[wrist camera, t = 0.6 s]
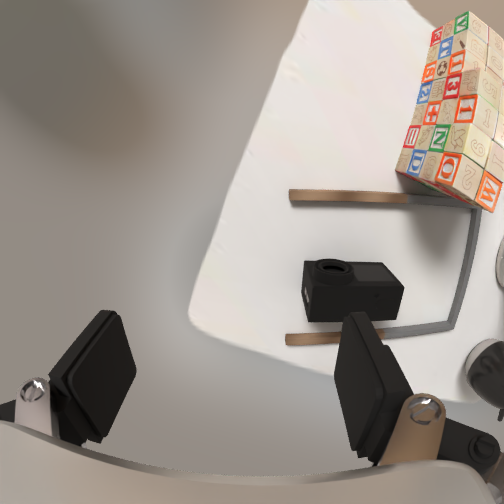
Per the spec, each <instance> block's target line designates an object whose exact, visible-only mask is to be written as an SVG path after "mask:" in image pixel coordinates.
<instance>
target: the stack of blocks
mask: <svg viewBox="0 0 504 504" xmlns="http://www.w3.org/2000/svg"><path fill="white" fill-rule="evenodd" d="M503 81H504V40H503V39H502V38H501V37H500V36H499V35H498V34H497V33H496V32H494V30H492V29H491V28H490V27H488V26H487V25H486V24H485V23H484V22H482V21H481V20H480V19H479V18H478V17H476V16H475V15H474V14H473V13H471V12H470V11H468V12H465V13H464V14H461V15H460V16H458V17H456V18H455V19H454V20H452V21H450V22H448V23H446V24H444V26H442V27H440V28H438V29H436V30H434V31H433V32H432V38H431V45H430V48H429V51H428V56H427V61H426V66H425V69H424V73H423V77H422V81H421V84H422V85H421V88H420V92H419V96H418V99H417V105H416V107H415V111H414V114H413V118H412V121H411V125H410V126H409V129H408V133H407V136H406V139H405V142H404V145H403V148H402V151H401V154H400V157H399V159H398V162H397V165H396V168H395V171H397V172H399V173H401V174H403V175H405V176H407V177H409V178H411V179H413V180H416V181H418V182H419V183H421V184H423V185H425V186H427V187H429V188H430V189H432V190H435V191H437V192H440V193H443V194H446V195H449V196H451V197H454V198H456V199H459V200H461V201H463V202H466V203H468V204H471V205H473V206H477V207H479V208H482V209H484V210H486V211H489V212H491V213H493V212H494V209H495V206H496V203H497V200H498V197H499V194H500V191H501V188H502V183H504V87H503Z"/></svg>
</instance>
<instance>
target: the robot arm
mask: <svg viewBox="0 0 504 504" xmlns="http://www.w3.org/2000/svg"><path fill="white" fill-rule="evenodd" d="M496 272H497V278H498V281H499V283H500V285H501V286H502V287H503V288H504V238H503V240H502V243H501V246H500V249H499V252H498V257H497V264H496ZM48 375H49V377H50V381H49V382H47V380H45V379H43V378H39V377H38V378H32V379H29V380H27V381H25V382H24V383H23V384H22V385H20V387H19V389H18V391H17V396H16V400H13V401H10V402H7V403H4V404H1V405H0V504H504V452H503V453H502V452H501V451H500V447H499V443H498V441H497V440H496V439H495V438H494V437H493V436H492V435H490V434H488V433H485V432H483V431H480V430H477V429H474V428H472V427H469V426H466V425H464V424H461V423H459V422H456V421H453V420H451V419H448V418H446V409H445V406H444V404H443V403H442V402H441V401H440V400H439V399H438V398H436V397H435V396H433V395H430V394H424V393H420V394H415V395H414V394H413V391H412V389H411V387H410V385H409V383H408V381H407V380H406V378H405V376H404V374H403V372H402V370H401V368H400V366H399V364H398V362H397V360H396V358H395V356H394V355H393V353H392V351H391V349H390V347H389V346H388V345H383V343H382V341H381V339H380V337H379V336H378V334H377V332H376V330H375V328H374V326H373V324H372V323H371V321H370V319H369V317H368V315H367V314H366V312H351V313H349V315H348V317H344V319H343V325H342V332H341V338H340V344H339V349H338V355H337V360H336V366H335V371H334V380H335V384H336V388H337V392H338V396H339V400H340V404H341V408H342V412H343V416H344V420H345V424H346V429H347V432H348V437H349V442H350V446H351V449H352V451H357V455H358V458H362V457H368V460H369V461H371V462H373V463H372V465H371V467H369V468H363V469H356V470H349V471H341V472H333V473H323V474H311V475H297V476H269V477H268V476H267V477H266V476H265V477H264V476H231V475H216V474H205V473H195V472H188V471H181V470H174V469H167V468H162V467H156V466H151V465H146V464H141V463H137V462H133V461H128V460H124V459H120V458H116V457H113V456H108V455H105V454H101V453H98V452H95V451H92V450H89V449H87V448H86V443H85V442H86V440H87V439H88V440H90V441H93V442H96V443H101V441H102V439H103V437H106V436H107V435H108V433H109V431H110V429H111V427H112V424H113V422H114V420H115V418H116V416H117V414H118V411H119V409H120V407H121V405H122V403H123V401H124V399H125V397H126V394H127V392H128V390H129V388H130V386H131V384H132V382H133V380H134V378H135V375H136V365H135V362H134V360H133V357H132V354H131V350H130V347H129V344H128V340H127V337H126V334H125V330H124V327H123V324H122V320H121V317H120V316H119V315H117V313H116V312H115V311H110V310H109V311H108V310H101V311H100V312H99V313H98V314H97V315H96V316H95V318H94V319H93V320H92V321H91V322H90V323H89V324H88V326H87V327H86V328H85V329H84V330H83V332H82V333H81V334H80V335H79V336H78V338H77V339H76V340H75V341H74V342H73V344H72V345H71V346H70V347H69V349H68V350H67V351H66V353H65V354H64V355H63V356H62V358H61V359H60V360H59V361H58V362H57V364H56V365H55V366H54V368H53V369H52V370H51V372H50V373H49V374H48Z"/></svg>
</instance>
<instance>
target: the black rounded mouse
mask: <svg viewBox="0 0 504 504" xmlns="http://www.w3.org/2000/svg"><path fill="white" fill-rule="evenodd" d="M465 371H466V376H467V382H468V384H469V385H470V387H471V388H472V389H473V390H474V391H475V392H476V393H477V394H478V395H479V396H480V397H481V398H482V399H484V400H485V401H486V402H488V403H489V404H491V405H493V406H494V407H496V408H499V409H500V412H499V416H498V421H502V419H503V417H504V341H500V340H497V339H487V340H484V341H482V342H481V343H479V344H478V345H477V346H476V347H475V348H474V349H473V350H472V352H471V353H470V355H469V357H468V359H467V362H466V367H465Z"/></svg>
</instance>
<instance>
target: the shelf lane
mask: <svg viewBox="0 0 504 504" xmlns="http://www.w3.org/2000/svg"><path fill="white" fill-rule="evenodd" d="M407 198H408V195H406V194H404V193H391V192H372V191H347V190H297V189H289V200H323V201H364V202H389V203H407ZM375 330H376V332H377V334H378V336H379V337H380V339H384V336H385V332H384V330H383V329H375ZM340 338H341V332H327V333H304V334H286V336H285V342H286V345H307V344H328V343H340Z"/></svg>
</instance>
